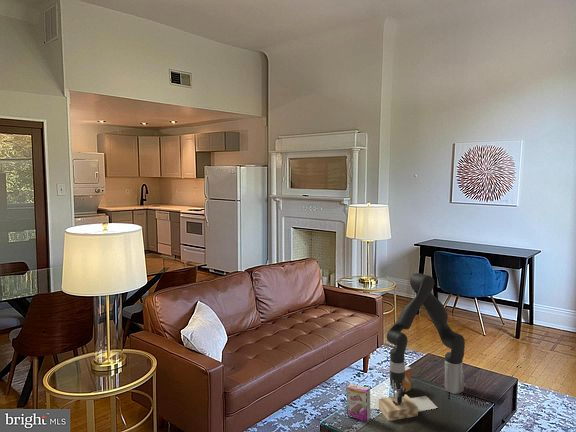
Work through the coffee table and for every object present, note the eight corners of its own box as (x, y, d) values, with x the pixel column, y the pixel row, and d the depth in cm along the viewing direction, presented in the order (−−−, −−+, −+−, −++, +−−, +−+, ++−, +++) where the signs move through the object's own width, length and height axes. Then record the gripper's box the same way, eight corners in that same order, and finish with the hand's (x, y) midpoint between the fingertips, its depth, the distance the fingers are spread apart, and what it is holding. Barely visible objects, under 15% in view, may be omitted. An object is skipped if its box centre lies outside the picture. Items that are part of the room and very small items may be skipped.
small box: (401, 394, 240) (401, 372, 238) (393, 389, 245) (392, 367, 243) (411, 389, 244) (411, 367, 242) (402, 385, 249) (402, 363, 248)
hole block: (406, 403, 231) (406, 394, 230) (417, 415, 219) (417, 406, 219) (378, 407, 228) (378, 399, 227) (388, 421, 216) (388, 411, 215)
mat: (425, 396, 236) (425, 395, 236) (437, 408, 225) (437, 407, 225) (405, 399, 234) (405, 399, 234) (416, 412, 222) (416, 411, 222)
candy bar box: (346, 417, 221) (345, 386, 219) (350, 412, 225) (349, 382, 223) (367, 423, 215) (366, 392, 213) (371, 417, 219) (370, 387, 217)
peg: (399, 406, 225) (398, 388, 224) (401, 409, 222) (401, 391, 221) (393, 407, 224) (393, 389, 223) (396, 410, 222) (396, 392, 220)
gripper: (410, 374, 214) (411, 406, 217) (397, 361, 228) (398, 392, 230) (396, 376, 213) (397, 409, 215) (384, 363, 227) (385, 394, 229)
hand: (397, 400), depth 223 cm, fingers open, 3 cm apart
